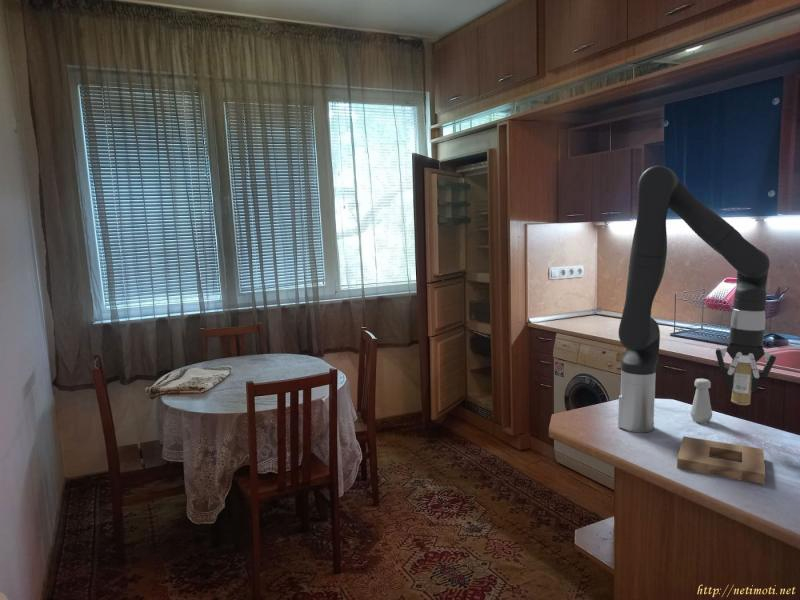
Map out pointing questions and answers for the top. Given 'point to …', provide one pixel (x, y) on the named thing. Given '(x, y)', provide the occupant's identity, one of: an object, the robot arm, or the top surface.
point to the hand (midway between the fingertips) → (741, 388)
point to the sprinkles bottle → (742, 381)
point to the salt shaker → (701, 402)
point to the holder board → (698, 459)
